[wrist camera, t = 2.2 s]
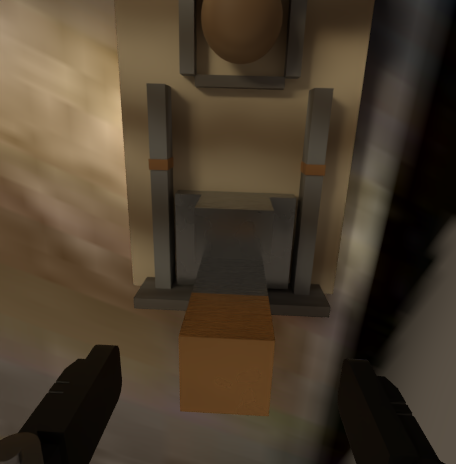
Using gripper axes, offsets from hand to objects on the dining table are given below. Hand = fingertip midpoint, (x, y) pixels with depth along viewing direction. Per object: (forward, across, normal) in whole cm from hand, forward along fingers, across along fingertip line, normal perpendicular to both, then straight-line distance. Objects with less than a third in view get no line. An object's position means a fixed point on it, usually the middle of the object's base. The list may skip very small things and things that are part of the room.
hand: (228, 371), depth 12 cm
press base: (+13, 0, -8) cm, 16 cm away
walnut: (+11, 0, -13) cm, 17 cm away
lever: (+11, 0, -1) cm, 11 cm away
